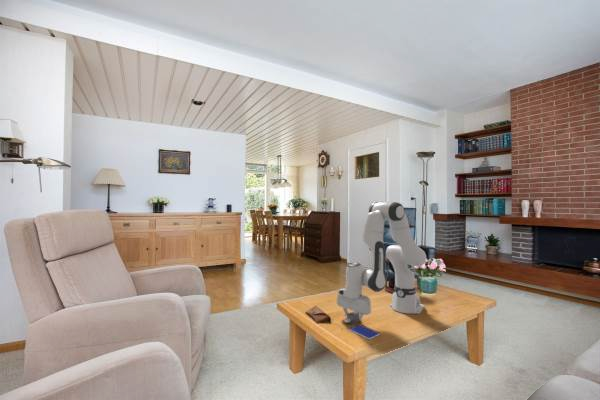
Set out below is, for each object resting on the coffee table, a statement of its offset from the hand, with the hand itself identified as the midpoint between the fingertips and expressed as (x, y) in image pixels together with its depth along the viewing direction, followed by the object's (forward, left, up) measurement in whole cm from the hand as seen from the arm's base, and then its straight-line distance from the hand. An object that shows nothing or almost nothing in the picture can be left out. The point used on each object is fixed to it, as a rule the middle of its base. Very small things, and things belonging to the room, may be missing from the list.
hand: (353, 318), depth 157 cm
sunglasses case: (+10, -18, -2) cm, 20 cm away
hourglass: (-70, -9, -2) cm, 71 cm away
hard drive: (+8, +12, -2) cm, 14 cm away
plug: (+1, 0, -2) cm, 2 cm away
